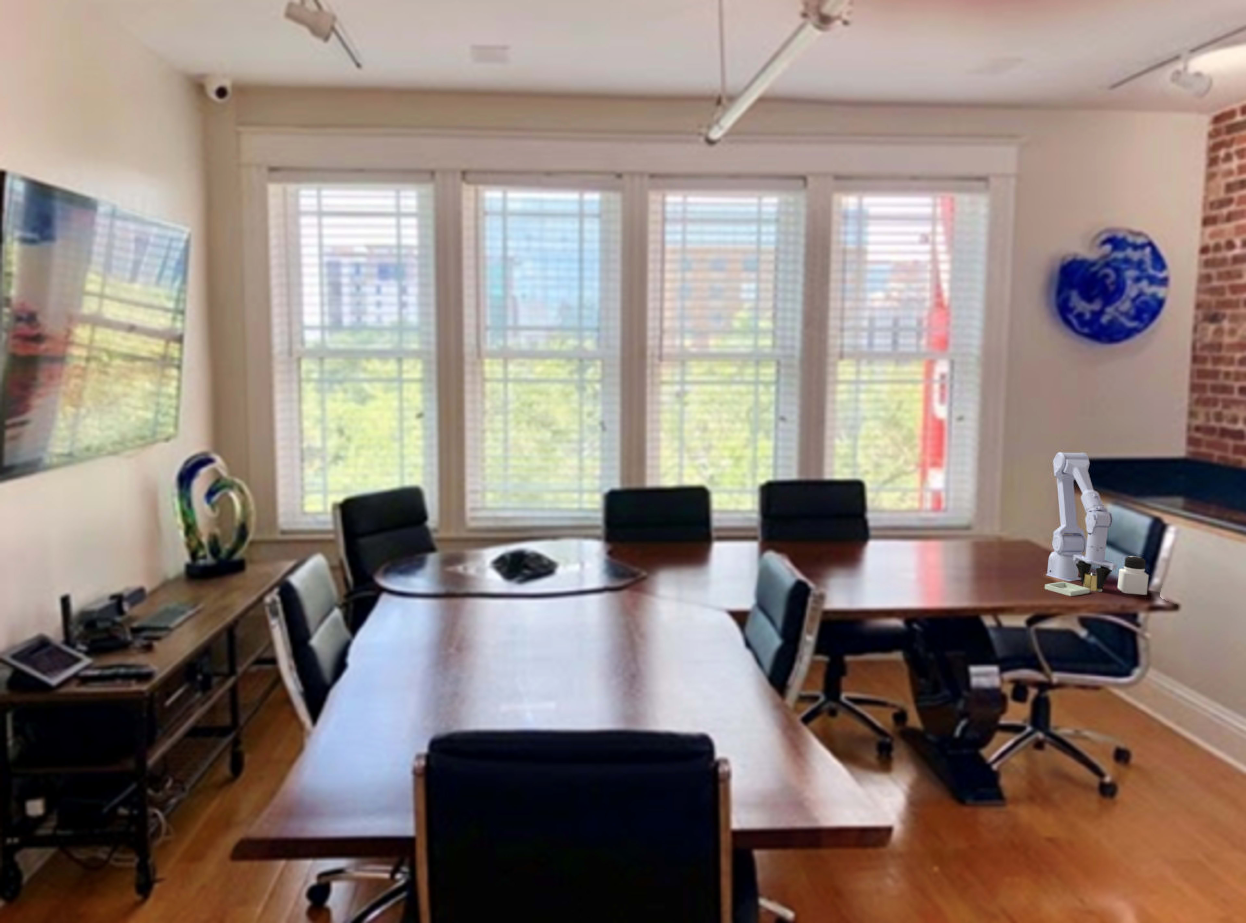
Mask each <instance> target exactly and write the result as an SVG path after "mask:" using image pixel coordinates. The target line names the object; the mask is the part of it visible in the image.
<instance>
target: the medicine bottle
mask: <svg viewBox="0 0 1246 923" xmlns="http://www.w3.org/2000/svg"><path fill="white" fill-rule="evenodd" d="M1146 562H1147V561H1146V559H1144V558H1143V557H1140V556H1134V555H1131V556H1130V555H1129V556H1126V557H1125V558H1124V566H1123V568H1119V571H1118V577H1117V578H1118V579H1117V589H1118V590H1119V591H1121V592H1122V593H1123V594H1131V595H1132V594H1133V595H1144V596H1145V595H1146V596H1147V595H1148V587H1149V577H1150V575H1149V574H1147V573H1146V572H1145V570H1146Z"/></svg>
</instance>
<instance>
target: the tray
mask: <svg viewBox="0 0 1246 923" xmlns="http://www.w3.org/2000/svg"><path fill="white" fill-rule="evenodd" d="M1044 589H1045V590H1048V591H1050V592H1055V593H1058V594H1062V595H1065V596H1068V597H1073V596H1074V597H1075V596H1079V595H1080V596H1081V595H1085V594H1090V592H1091V591H1090V589H1089V588H1085V587H1083V586H1081V585H1077V584H1075V583H1070V582H1068V581H1059V582H1053V583H1046V584H1044Z"/></svg>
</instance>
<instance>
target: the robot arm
mask: <svg viewBox="0 0 1246 923" xmlns="http://www.w3.org/2000/svg"><path fill="white" fill-rule="evenodd" d="M1053 458H1054V459H1052V464H1053V474H1054V477H1055V478H1056V485H1057V486H1056V487H1057V497H1058V498H1057V499H1058V509H1059V511H1058V512H1059V522H1060V526H1059V527H1057V529H1055V530H1054V531H1053V534H1052V535H1053V537H1052V542H1051V544H1052V549H1053V550H1054V551H1052V552H1051V553H1050V554H1049V556H1048V560H1047V562H1048V563H1047V573H1046V574H1045V575H1046V576H1049V577H1052V578H1055V579H1059V580H1063V581H1065V582H1074V581H1080V580H1081V581H1080V582H1081V585H1083V583H1084V574H1085V573H1087V572H1090V571H1091V569H1092V566H1095V567H1096V568H1095V570H1096V573H1097V589H1102V590H1103V588H1104V586H1105V583H1106V580H1107V579H1108V577H1109V576H1110V575H1111V573H1112V572H1113V571H1117V563H1114V562H1111V561H1108V560H1106V559H1105V556H1106V547H1107V539H1108V529H1110V528H1111V527H1112V524H1113V521H1114V520H1113V515H1112V512H1111V511H1110V510H1108V508H1107V507H1105V505H1104V504H1103V501H1102V498H1101V496H1100V493H1099V492H1098V491H1096V490H1095V489H1094V487H1093V483H1092V481H1091V477H1090V473H1089V467H1090V464H1091V463H1090V459H1089V456H1088V454H1087V453H1085V452H1062V451H1059V452H1057V453H1056V454H1055V456H1054V457H1053ZM1075 481H1076V483H1077V485H1078V487H1079V489H1080V492H1081V495H1080V500H1081V503H1082V505H1083V509H1084V511H1085V513H1086V516H1085V518H1084V520H1085V521H1084V522H1085V525H1086V532H1087V538H1086V534H1085V531H1084V530H1083V529H1082V528H1081V527H1079V525H1078V522H1077V521H1078V520H1077V508H1076V498H1075V487H1074V484H1075V483H1074V482H1075ZM1083 553H1085V555H1083ZM1090 573H1091V572H1090ZM1079 576H1080V577H1079Z"/></svg>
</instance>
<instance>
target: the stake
mask: <svg viewBox="0 0 1246 923" xmlns="http://www.w3.org/2000/svg"><path fill="white" fill-rule="evenodd" d="M1096 573H1097V572H1090V575H1093V576H1096ZM1091 592H1094V593H1096V592H1097V593H1100V592H1103V588H1102V589H1101V591H1091Z"/></svg>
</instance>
